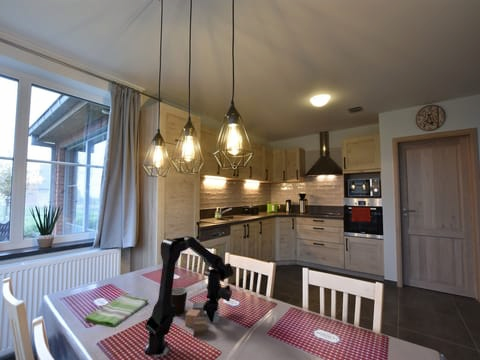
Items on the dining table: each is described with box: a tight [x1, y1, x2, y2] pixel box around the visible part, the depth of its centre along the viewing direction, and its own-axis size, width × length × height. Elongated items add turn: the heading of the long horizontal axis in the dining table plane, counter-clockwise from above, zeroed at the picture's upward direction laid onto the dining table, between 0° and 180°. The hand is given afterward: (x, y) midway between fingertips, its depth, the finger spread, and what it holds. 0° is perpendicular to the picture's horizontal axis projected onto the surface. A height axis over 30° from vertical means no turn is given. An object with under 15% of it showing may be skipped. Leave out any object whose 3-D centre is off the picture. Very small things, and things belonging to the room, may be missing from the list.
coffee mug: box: [171, 286, 188, 316], centre depth 114 cm, size 12×9×10 cm
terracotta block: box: [184, 308, 200, 328], centre depth 102 cm, size 5×5×5 cm
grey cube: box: [206, 306, 220, 324], centre depth 106 cm, size 5×5×5 cm
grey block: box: [192, 301, 206, 317], centre depth 109 cm, size 5×5×5 cm
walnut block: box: [192, 316, 207, 337], centre depth 96 cm, size 5×5×5 cm
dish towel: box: [84, 293, 149, 328], centre depth 112 cm, size 17×23×4 cm
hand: (213, 317), depth 106 cm, fingers open, 7 cm apart
